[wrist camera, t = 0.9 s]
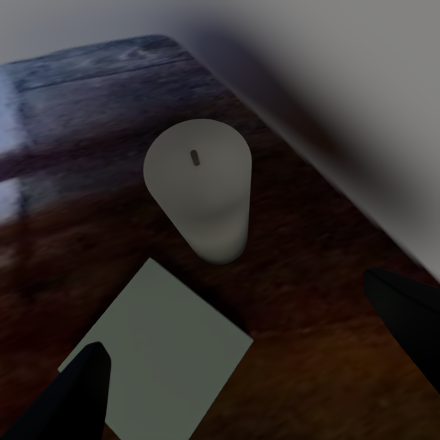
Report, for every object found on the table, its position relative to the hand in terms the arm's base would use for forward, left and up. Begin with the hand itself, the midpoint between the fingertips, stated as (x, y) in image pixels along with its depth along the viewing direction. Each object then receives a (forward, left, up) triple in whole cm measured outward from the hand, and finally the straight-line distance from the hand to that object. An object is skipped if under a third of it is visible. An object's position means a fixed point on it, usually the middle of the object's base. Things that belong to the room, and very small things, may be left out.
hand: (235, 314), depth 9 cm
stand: (+3, +6, -13) cm, 15 cm away
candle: (+5, -4, -13) cm, 15 cm away
